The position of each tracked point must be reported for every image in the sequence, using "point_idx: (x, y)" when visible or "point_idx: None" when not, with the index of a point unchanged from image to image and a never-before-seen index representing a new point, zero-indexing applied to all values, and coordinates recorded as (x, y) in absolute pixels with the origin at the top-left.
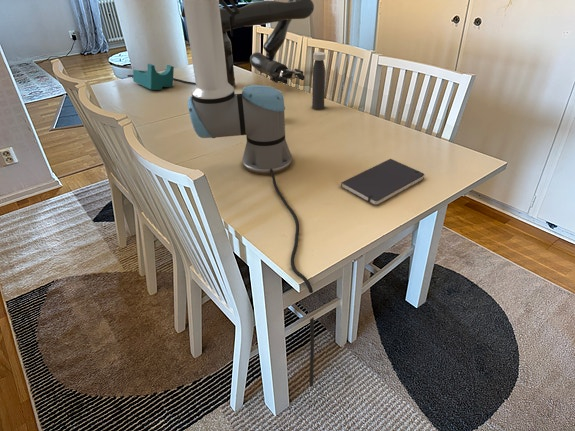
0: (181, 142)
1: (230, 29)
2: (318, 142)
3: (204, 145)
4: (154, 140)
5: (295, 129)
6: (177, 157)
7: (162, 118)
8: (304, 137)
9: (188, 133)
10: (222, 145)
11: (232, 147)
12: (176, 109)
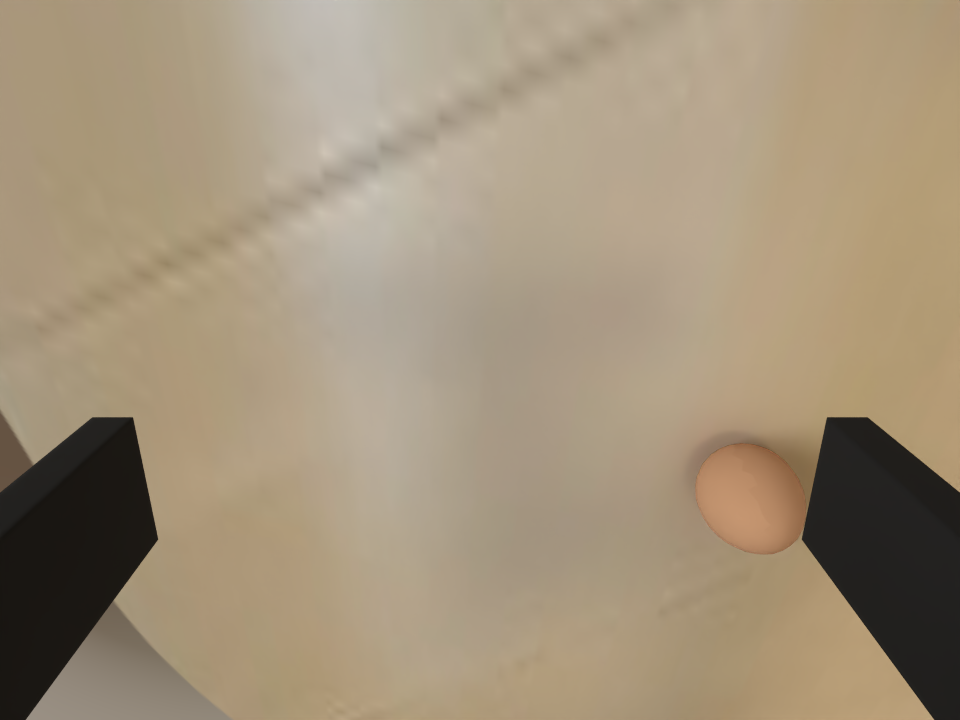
0: (264, 597)
1: (872, 561)
2: (867, 711)
3: (375, 643)
4: None
5: (827, 583)
6: (268, 711)
7: (84, 273)
8: (831, 662)
9: (285, 514)
10: (455, 658)
11: (498, 681)
12: (143, 122)
